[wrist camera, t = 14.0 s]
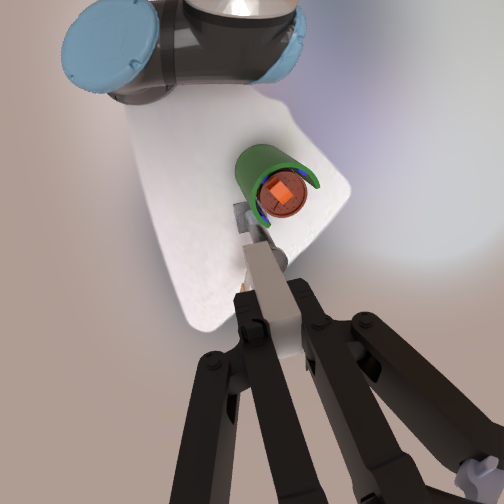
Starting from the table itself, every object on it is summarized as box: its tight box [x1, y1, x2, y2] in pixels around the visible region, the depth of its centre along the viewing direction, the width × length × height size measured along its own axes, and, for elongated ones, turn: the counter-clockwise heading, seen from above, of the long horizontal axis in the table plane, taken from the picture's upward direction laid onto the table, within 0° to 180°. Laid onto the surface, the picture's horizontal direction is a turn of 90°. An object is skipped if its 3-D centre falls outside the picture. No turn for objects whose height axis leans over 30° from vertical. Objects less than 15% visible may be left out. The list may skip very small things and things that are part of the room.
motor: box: [235, 144, 320, 228], centre depth 43 cm, size 10×9×20 cm
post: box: [233, 200, 288, 273], centre depth 48 cm, size 6×6×18 cm
